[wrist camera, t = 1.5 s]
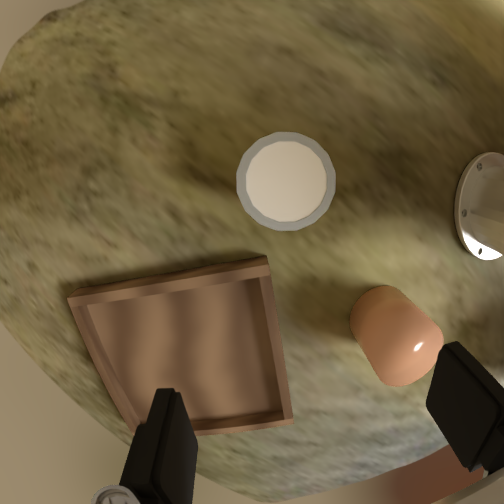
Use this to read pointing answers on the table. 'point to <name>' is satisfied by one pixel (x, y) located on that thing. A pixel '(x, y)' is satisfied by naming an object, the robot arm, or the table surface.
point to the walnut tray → (191, 345)
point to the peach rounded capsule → (395, 335)
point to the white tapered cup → (286, 181)
